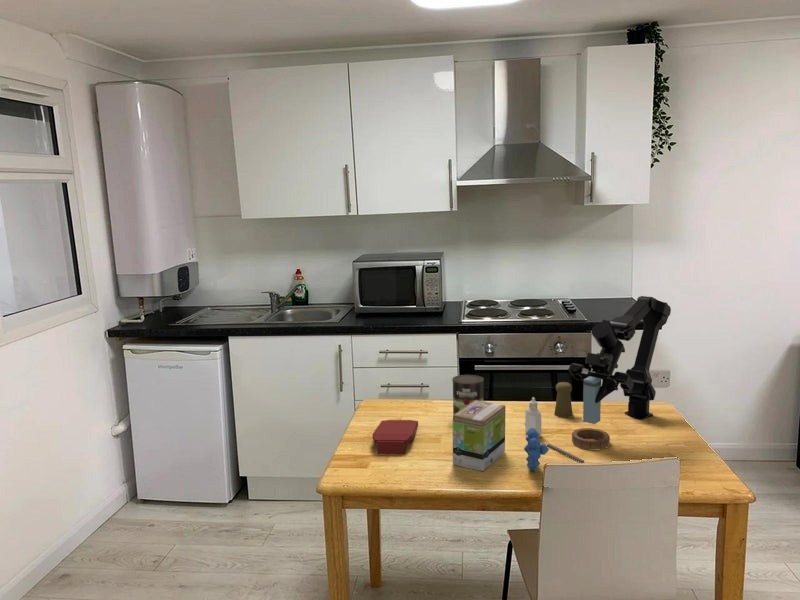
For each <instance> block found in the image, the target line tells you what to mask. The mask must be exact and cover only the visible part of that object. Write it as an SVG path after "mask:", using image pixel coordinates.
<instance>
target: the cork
mask: <svg viewBox="0 0 800 600" xmlns="http://www.w3.org/2000/svg"><path fill="white" fill-rule="evenodd" d="M555 390H556V392H557V393H556V400H555V406H554V407H555V408H554V416H555V417H557V418H562V419H564V418H565V419H566V418H567V419H568V418H571V417H573V416H574V414H573V407H572V406H573V405H572V399H571V392H572V390H573V387H572V384H571V383H570V382H566V381H561V382H557V384H556V385H555Z"/></svg>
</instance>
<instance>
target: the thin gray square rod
mask: <svg viewBox="0 0 800 600" xmlns="http://www.w3.org/2000/svg"><path fill="white" fill-rule="evenodd" d="M546 446H547V447H548V449H552V450H553V451H555V450H556V452H557V451H558V452H557V453H559V452H560V454H561V453H562V454H561V455H564V456H566V455H567V456H566V457H568V456H569V457H568V458H570V457H571V458H570V459H572V458H573V459H572V460H574V459H575V460H574V461H576V460H577V461H576V462H578V461H579V462H578V463H580V462H584V463H585V460H584V459H582V458H580V457H578V456H576V455H573V454H572V453H570V452H567V451H565V450H564V449H562V448H559V447H557V446H555V445H553V444H551V443H547V444H546Z"/></svg>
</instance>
